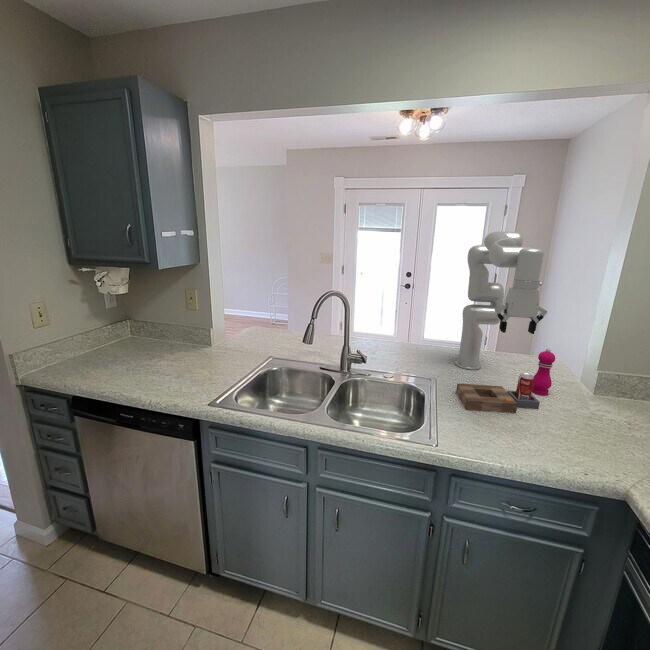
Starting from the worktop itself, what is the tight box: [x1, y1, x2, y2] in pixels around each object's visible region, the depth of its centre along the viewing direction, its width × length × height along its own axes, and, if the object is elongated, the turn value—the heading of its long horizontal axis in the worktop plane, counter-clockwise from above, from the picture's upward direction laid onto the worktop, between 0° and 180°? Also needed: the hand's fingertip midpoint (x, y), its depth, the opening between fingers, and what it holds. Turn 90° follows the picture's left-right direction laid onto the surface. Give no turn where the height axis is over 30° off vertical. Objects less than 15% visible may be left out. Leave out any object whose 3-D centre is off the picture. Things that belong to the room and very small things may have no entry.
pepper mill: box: [532, 348, 556, 396], centre depth 142 cm, size 7×7×20 cm
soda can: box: [515, 372, 534, 400], centre depth 134 cm, size 5×5×12 cm
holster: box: [506, 390, 541, 410], centre depth 135 cm, size 9×9×3 cm
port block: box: [455, 382, 518, 414], centre depth 135 cm, size 15×18×4 cm
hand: (516, 332), depth 122 cm, fingers open, 9 cm apart
